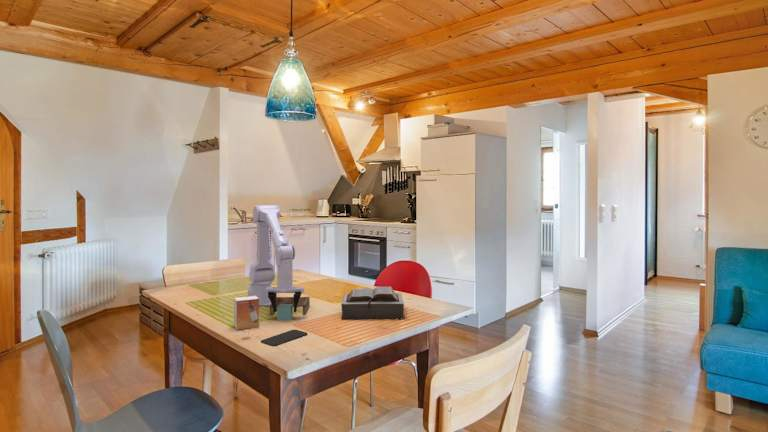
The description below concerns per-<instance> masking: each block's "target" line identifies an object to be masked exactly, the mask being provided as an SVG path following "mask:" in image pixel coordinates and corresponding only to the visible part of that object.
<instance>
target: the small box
mask: <svg viewBox="0 0 768 432" xmlns="http://www.w3.org/2000/svg"><path fill="white" fill-rule="evenodd" d="M233 326H234V328H235V330H237V331H238V330H245V329H255V328H256V329H257V328H260V306H259V299H258V297H257V296H249V297H248V296H242V297H234V298H233Z"/></svg>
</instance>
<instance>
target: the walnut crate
mask: <svg viewBox="0 0 768 432" xmlns="http://www.w3.org/2000/svg"><path fill="white" fill-rule="evenodd" d="M310 298H311V297H310V296H300V299H299V301H298V305H297V308H299V307H301V308H302V316H304V315H306V314H307V312H308V310H309V308H310ZM280 304H293V308H294V296H277V297H276V306H277V307H278V306H279V305H280ZM273 314H275V312H274V311H273V307H272V304H270V305H269V316H273Z"/></svg>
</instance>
